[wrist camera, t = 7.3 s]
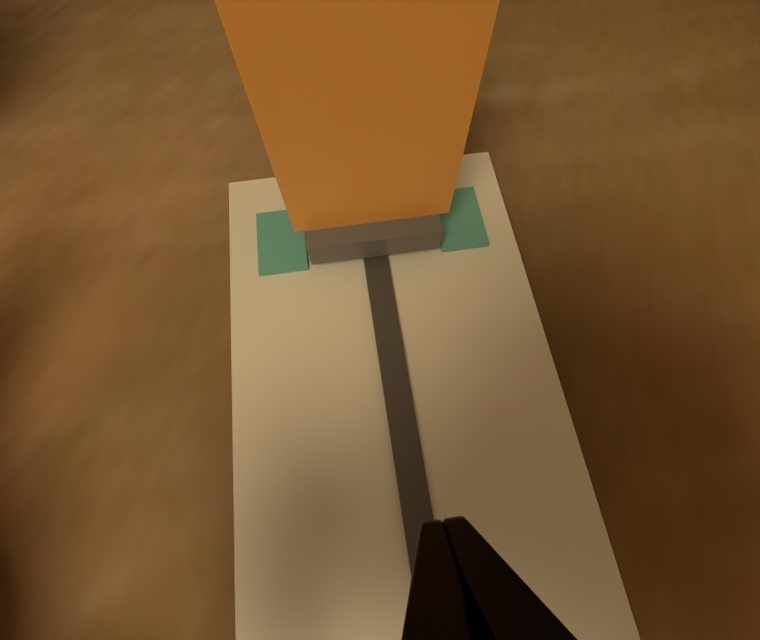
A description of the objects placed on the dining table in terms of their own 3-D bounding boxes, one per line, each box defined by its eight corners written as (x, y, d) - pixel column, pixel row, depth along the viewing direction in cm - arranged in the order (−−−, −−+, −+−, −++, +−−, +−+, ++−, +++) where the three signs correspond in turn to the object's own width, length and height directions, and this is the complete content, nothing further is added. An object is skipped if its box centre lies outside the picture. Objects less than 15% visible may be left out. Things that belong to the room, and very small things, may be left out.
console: (626, 662, 14) (658, 685, 12) (253, 731, 13) (234, 764, 11) (481, 174, 21) (488, 148, 19) (239, 203, 20) (227, 179, 19)
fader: (448, 246, 17) (530, -53, 8) (301, 266, 17) (197, -21, 7) (430, 169, 19) (478, -162, 9) (294, 186, 18) (200, -138, 9)
